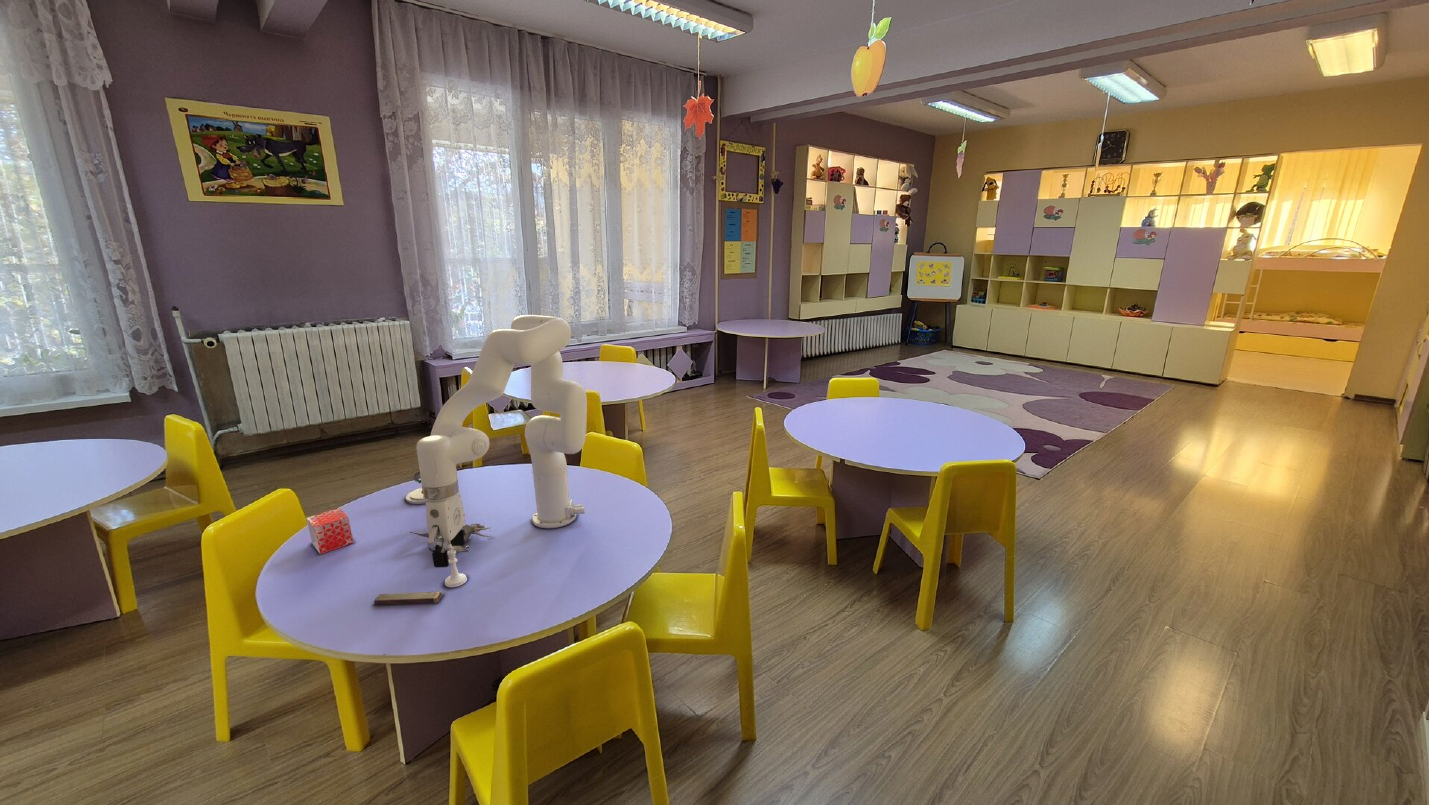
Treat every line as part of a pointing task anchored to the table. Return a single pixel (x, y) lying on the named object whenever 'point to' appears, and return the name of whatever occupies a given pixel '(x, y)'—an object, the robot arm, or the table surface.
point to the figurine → (467, 533)
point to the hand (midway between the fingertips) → (450, 555)
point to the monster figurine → (416, 493)
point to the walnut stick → (408, 598)
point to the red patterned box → (330, 530)
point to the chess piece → (454, 571)
